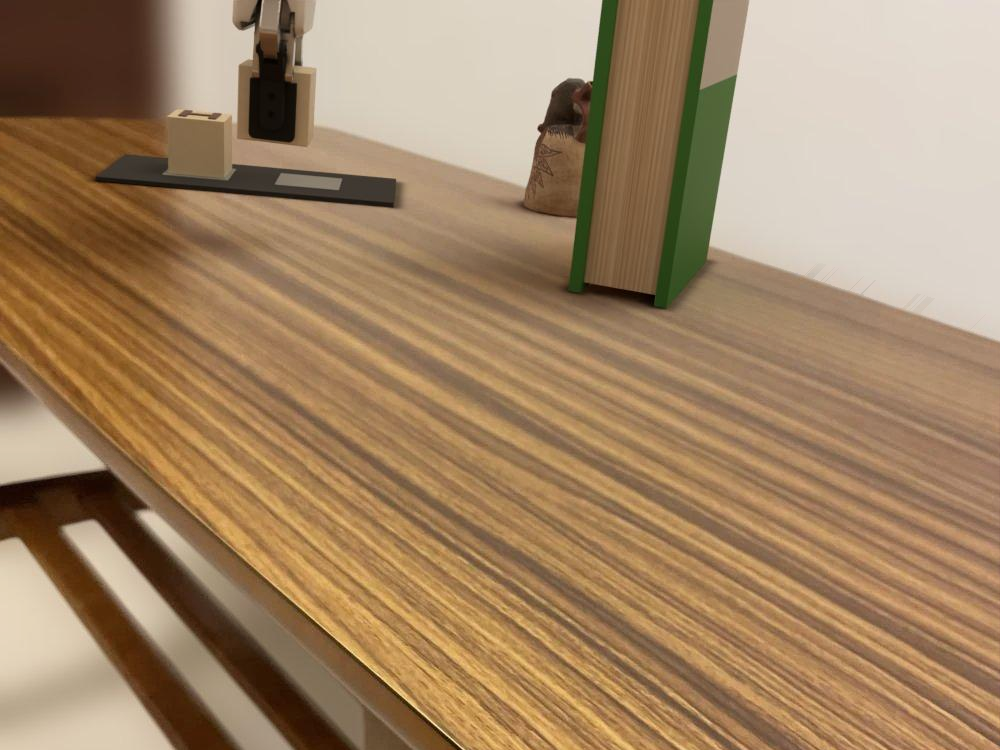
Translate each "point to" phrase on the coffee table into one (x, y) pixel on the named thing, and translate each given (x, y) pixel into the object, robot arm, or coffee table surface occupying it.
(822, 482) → the coffee table surface
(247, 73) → the tile
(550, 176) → the figurine
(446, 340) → the coffee table surface
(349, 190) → the word mat
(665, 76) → the hardback book
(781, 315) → the coffee table surface
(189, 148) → the tile
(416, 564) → the coffee table surface
